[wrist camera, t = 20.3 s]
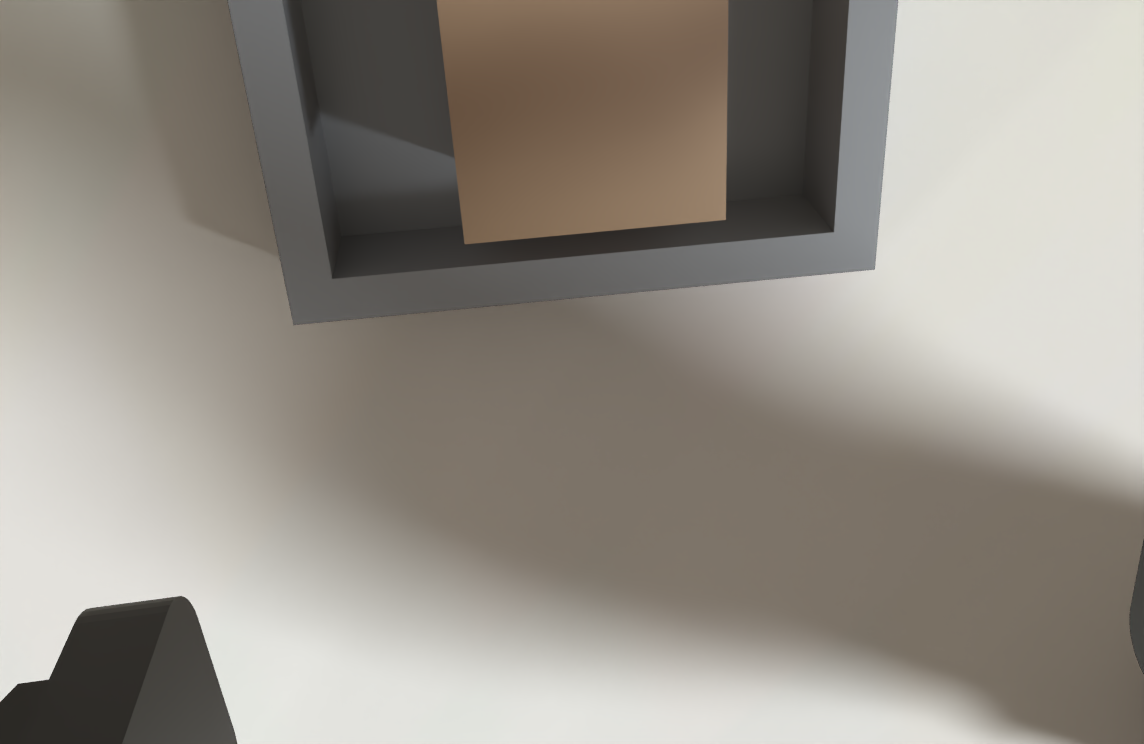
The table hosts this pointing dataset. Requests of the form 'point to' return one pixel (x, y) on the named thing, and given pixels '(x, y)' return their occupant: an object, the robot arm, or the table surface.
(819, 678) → the table surface
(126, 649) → the robot arm
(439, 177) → the collection tray
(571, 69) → the walnut cube
